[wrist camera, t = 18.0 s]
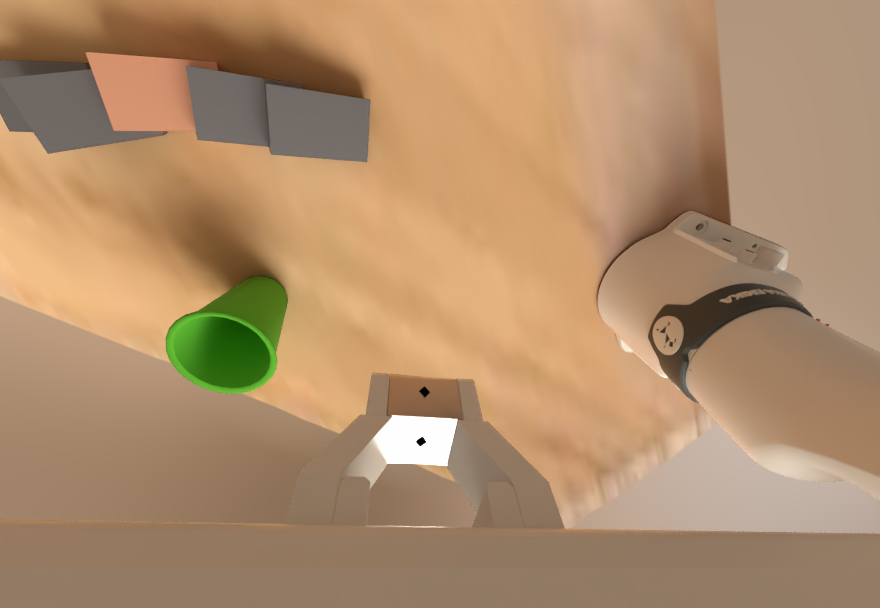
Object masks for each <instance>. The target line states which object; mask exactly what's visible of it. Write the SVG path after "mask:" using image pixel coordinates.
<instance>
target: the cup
mask: <svg viewBox="0 0 880 608" xmlns="http://www.w3.org/2000/svg"><path fill="white" fill-rule="evenodd" d="M287 303H288V299H287V295H286V292H285V290H284V288H283V287H282V286H281V285H280V284H279V283H278V282H277V281H275V280H273V279H271V278H268V277H263V276H257V277H251V278H248V279H246V280H245V281H243V282H241V283H240V284H238V285H237V286H235V287H234V288H232V289H231V290H229V291H228V292H226V293H225V294H223V295H222V296H220V297H219V298H217V299H216V300H214V301H213V302H211V303H210V304H208V305H207V306H205V307H203V308H202V309H200V310H199V311H196V312H193V313H190V314H186V315H184V316H183V317H181V318H179V319H178V320H176V321H175V322H174V323H173V325H172V326H171V327H170V328H169V330H168V333H167V336H166V351H167V354H168V357H169V360H170V361H171V363H172V364H173V366H174V367H175V368H176V370H177V371H178V372H179V373H181V374H182V375H183V376H184V377H185V378H187V379H188V380H190V381H191V382H193V383H194V384H196V385H198V386H201V387H203V388H205V389H208V390H212V391H216V392H220V393H231V394H233V393H244V392H248V391H251V390H255V389H256V388H258V387H260V386H262V385H264V384H265V383H266V382H267V381H268V380H269V379H270V378H271V377H272V376H273V374H274V372H275V370H276V365H277V356H276V350H277V346H278V342H279V338H280V333H281V329H282V325H283V321H284V316H285V312H286V308H287Z"/></svg>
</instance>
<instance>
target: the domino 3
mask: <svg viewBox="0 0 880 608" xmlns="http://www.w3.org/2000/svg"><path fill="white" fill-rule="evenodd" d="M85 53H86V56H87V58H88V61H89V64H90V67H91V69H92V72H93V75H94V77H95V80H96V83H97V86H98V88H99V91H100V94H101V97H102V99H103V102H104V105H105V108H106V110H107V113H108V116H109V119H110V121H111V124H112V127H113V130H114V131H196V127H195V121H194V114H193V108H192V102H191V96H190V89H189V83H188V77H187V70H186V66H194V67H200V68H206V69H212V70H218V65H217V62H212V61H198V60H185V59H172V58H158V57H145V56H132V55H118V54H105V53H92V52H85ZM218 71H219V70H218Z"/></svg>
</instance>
